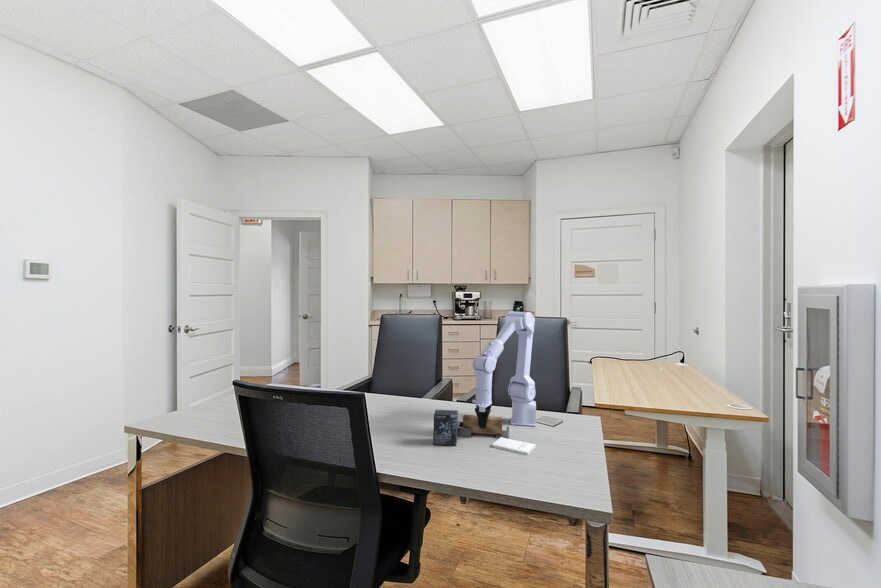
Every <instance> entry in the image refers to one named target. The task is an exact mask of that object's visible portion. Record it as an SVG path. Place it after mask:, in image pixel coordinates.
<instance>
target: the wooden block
mask: <svg viewBox="0 0 881 588" xmlns="http://www.w3.org/2000/svg"><path fill="white" fill-rule="evenodd" d="M462 421H463V427H467V428H471V432H472V433H480V434H482V433H483V434H493V435H496V434H502V430H503V417H502V416H490V415H489V416H488V419H487V425H486V428H485V429H482V428H480V427H479V422H478V417H477V414H475V415H474V414H463V417H462Z"/></svg>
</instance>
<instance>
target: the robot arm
mask: <svg viewBox="0 0 881 588" xmlns="http://www.w3.org/2000/svg"><path fill="white" fill-rule="evenodd" d="M535 322H536V318H535V316H534V315H533V314H532V312H530V311H527V312H526V311H513V310H511V311H508V312H507V314H506V316H505V317H504V324H503V325H502V327H501V329H500V331H499V332H498V334H497V336H496V337H495V338H494V339H491V340H489V341H488V344H487V345H486V346H485V347H484V349H483V351H482V353H481V354H478V355H477V356H476V357H474V359H473V362H472V367H473V369H474V375H475V399H472V403H473V404H475V407H474V411H475V415H476V416H477V417H478V422H479V427H480V428H482V429H485V428H486V425H487V419H488V416H490V413H491V411H492V409H491V408H492V407H493V405H492V403H493V401H492V389H493V388H492V387H493V383H492V382H493V372H494V371H495V369H496V365H497V362H498V358H499V356H500V355H501V354H502V352H503V351H504V349H505V348H504V344H505V343H506V342H507V340H508V339H509V338H510V337H511V336H512V334H513V332H516V333H517V335H518V346H517V357H516V366H515V367H516V368H515V374H514V376H512V377H511V378H510V379H509V380H510V381H509V384H508V388H507V394H508V395H509V396H510V399H511V404H512V405H511V417H510V424H511V425H513V426H514V425H515V426H528V427H536V423H537V403H536V401H535V400H534V399H535V397H536V392H537V391H536V382H535V381H534V379H532V377H531V375H530V372H531V371H530V370H531V360H532V349H533V338H534V333H535Z"/></svg>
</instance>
